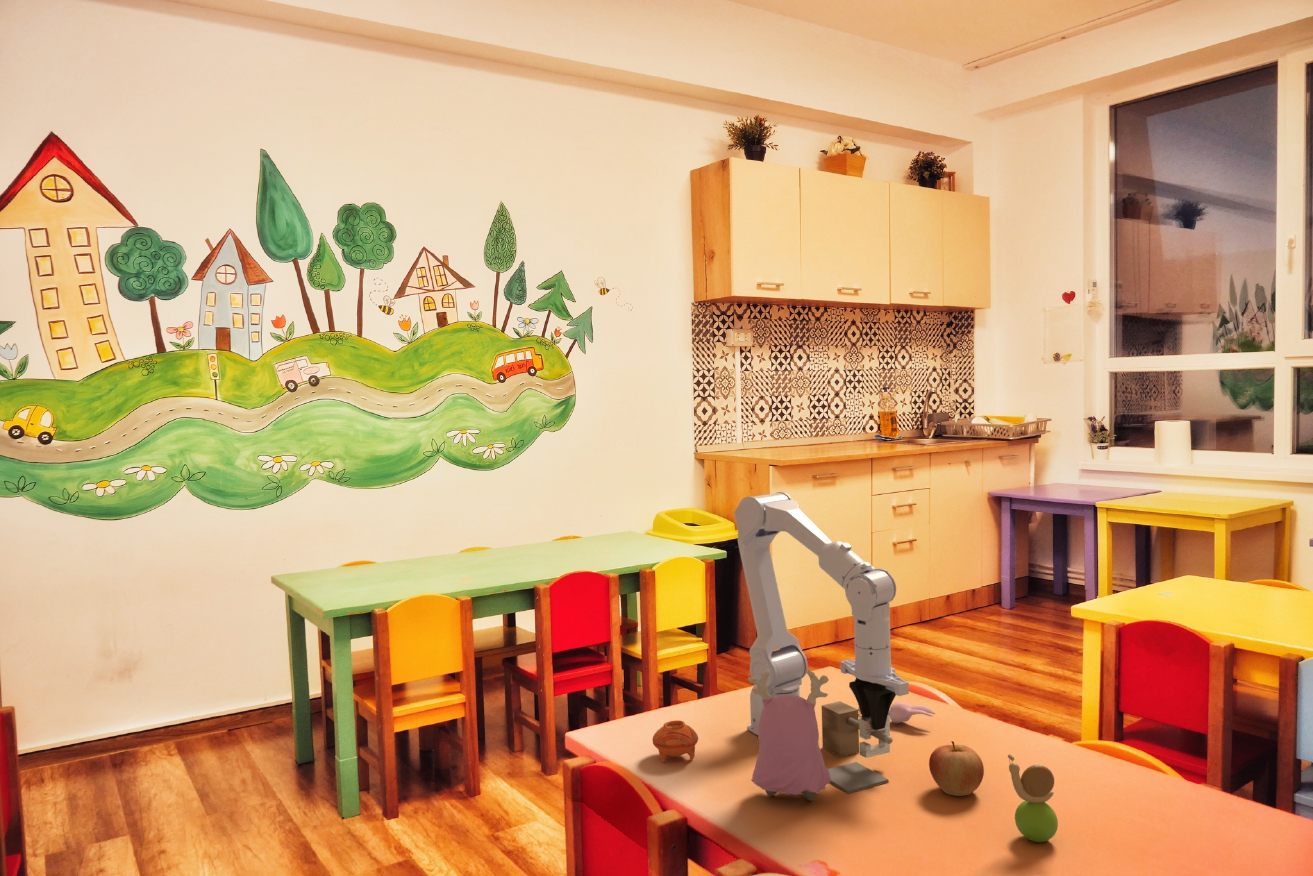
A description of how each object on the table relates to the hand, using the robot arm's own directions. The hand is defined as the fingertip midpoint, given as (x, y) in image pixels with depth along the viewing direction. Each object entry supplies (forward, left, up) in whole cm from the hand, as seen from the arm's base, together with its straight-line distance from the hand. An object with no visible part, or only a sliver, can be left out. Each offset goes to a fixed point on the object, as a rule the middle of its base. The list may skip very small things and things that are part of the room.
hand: (874, 726), depth 146 cm
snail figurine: (+29, +3, -7) cm, 30 cm away
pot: (-21, -26, -7) cm, 34 cm away
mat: (+1, -6, -7) cm, 9 cm away
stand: (-4, 0, -7) cm, 8 cm away
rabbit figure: (-14, +17, -7) cm, 23 cm away
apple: (+13, +5, -7) cm, 16 cm away
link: (0, 0, -5) cm, 5 cm away
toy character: (+1, -18, -7) cm, 19 cm away
